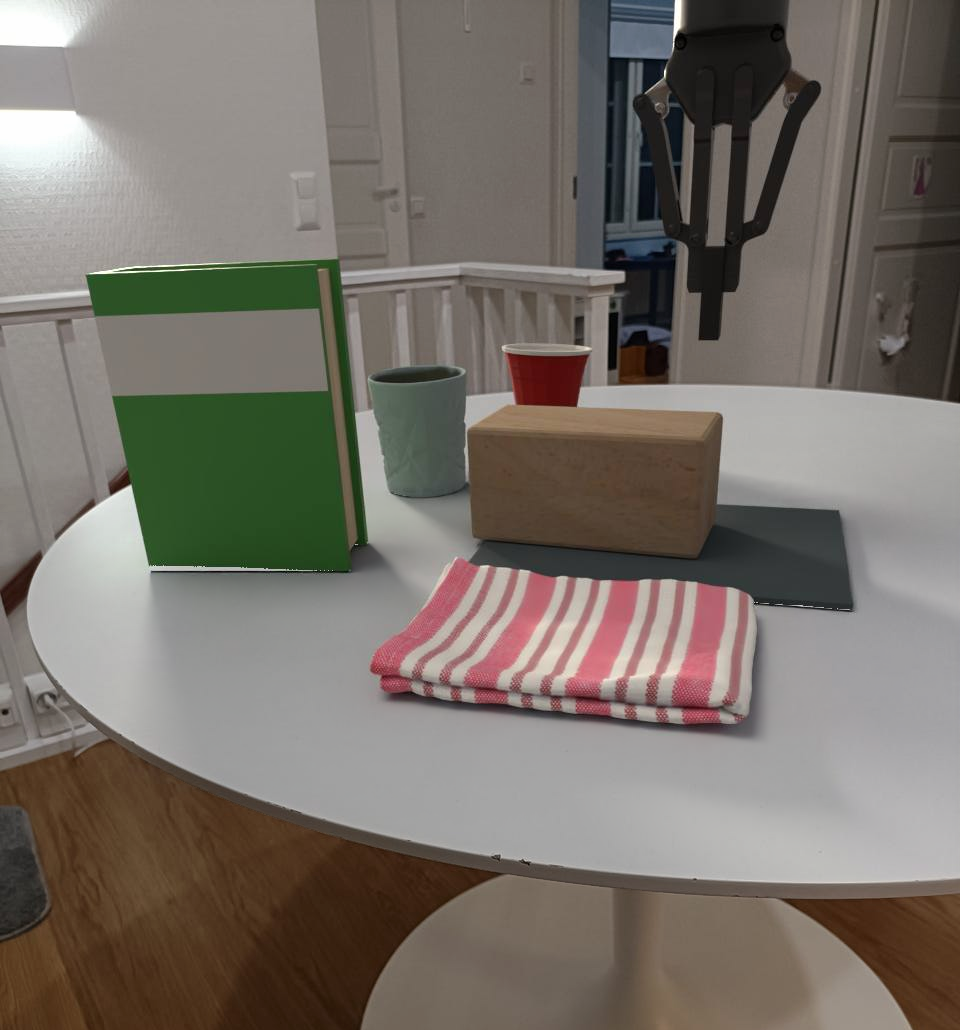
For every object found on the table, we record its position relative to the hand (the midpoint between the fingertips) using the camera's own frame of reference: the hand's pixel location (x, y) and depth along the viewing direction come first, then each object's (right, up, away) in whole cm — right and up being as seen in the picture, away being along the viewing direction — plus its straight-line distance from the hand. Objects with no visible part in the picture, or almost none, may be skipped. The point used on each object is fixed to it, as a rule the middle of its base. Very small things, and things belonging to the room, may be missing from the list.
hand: (709, 337), depth 71 cm
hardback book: (-37, -16, +10) cm, 42 cm away
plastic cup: (-9, +1, +43) cm, 44 cm away
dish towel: (-11, -25, -9) cm, 29 cm away
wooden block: (+2, -11, +5) cm, 12 cm away
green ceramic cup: (-24, -7, +28) cm, 37 cm away
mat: (-2, -15, +8) cm, 18 cm away
